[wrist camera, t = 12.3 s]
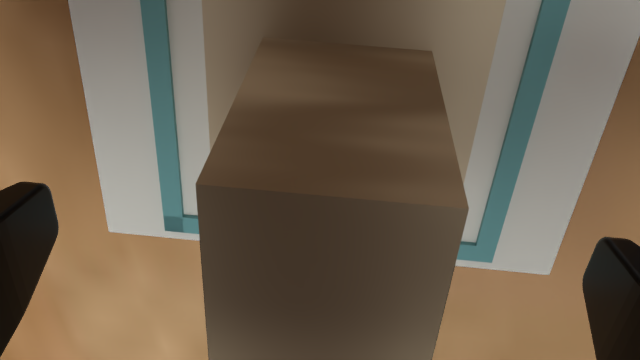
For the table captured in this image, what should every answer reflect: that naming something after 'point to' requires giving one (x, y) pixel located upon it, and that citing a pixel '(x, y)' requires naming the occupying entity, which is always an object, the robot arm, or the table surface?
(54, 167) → the table surface
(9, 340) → the robot arm
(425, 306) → the stamp
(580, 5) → the board
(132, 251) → the table surface
